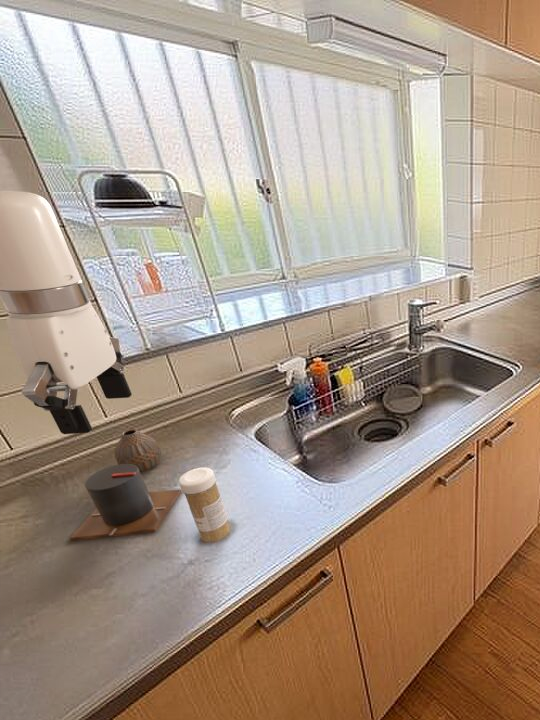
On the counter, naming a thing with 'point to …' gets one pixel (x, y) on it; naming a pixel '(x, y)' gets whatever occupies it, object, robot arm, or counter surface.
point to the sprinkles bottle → (205, 504)
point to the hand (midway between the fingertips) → (100, 413)
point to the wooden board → (147, 523)
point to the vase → (137, 450)
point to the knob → (119, 494)
